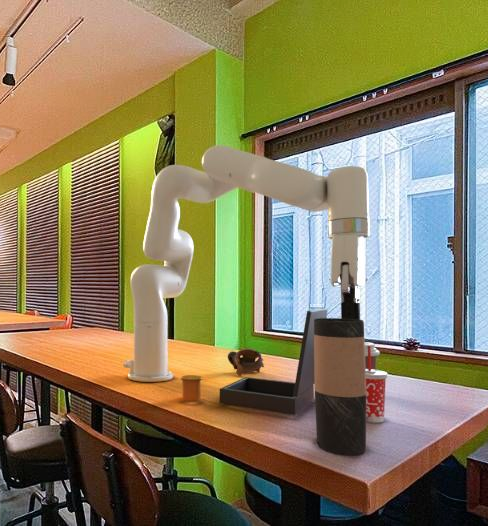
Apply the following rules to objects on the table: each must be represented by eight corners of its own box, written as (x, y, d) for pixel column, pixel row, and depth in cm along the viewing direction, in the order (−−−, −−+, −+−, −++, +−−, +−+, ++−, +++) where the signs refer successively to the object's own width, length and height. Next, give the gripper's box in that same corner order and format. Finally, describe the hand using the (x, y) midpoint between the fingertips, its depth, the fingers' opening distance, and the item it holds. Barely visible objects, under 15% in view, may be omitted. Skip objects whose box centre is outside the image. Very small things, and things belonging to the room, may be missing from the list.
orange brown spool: (177, 403, 95) (177, 377, 96) (187, 399, 99) (187, 374, 99) (195, 406, 93) (195, 380, 93) (205, 401, 97) (205, 376, 97)
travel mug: (377, 449, 68) (374, 320, 70) (349, 460, 64) (346, 322, 65) (333, 435, 75) (331, 317, 76) (305, 444, 70) (303, 319, 71)
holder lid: (306, 310, 84) (311, 311, 83) (324, 308, 96) (328, 308, 96) (292, 395, 84) (297, 397, 84) (311, 382, 97) (315, 383, 96)
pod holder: (219, 407, 92) (219, 388, 92) (245, 393, 105) (245, 376, 105) (295, 419, 84) (295, 399, 84) (314, 402, 96) (313, 384, 96)
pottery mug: (269, 374, 130) (270, 352, 126) (253, 393, 124) (253, 371, 120) (235, 360, 137) (234, 338, 133) (218, 377, 131) (216, 355, 127)
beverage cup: (346, 417, 86) (345, 344, 86) (366, 412, 88) (365, 342, 89) (375, 425, 80) (373, 348, 81) (395, 420, 83) (393, 346, 84)
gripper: (335, 235, 96) (338, 320, 94) (320, 227, 83) (322, 324, 82) (373, 233, 92) (376, 321, 90) (363, 224, 79) (366, 326, 78)
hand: (350, 322), depth 86 cm, fingers closed
